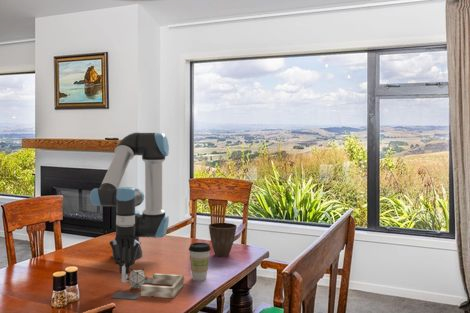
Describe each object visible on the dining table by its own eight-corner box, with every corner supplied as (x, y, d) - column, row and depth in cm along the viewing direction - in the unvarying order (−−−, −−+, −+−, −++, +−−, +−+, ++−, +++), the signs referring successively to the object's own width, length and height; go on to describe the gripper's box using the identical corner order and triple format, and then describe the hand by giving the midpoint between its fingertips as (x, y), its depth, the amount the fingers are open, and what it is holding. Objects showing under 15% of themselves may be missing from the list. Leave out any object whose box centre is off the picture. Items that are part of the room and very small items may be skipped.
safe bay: (141, 295, 165) (141, 285, 165) (153, 282, 180) (153, 273, 180) (173, 298, 163) (173, 288, 163) (183, 284, 178) (183, 275, 178)
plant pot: (216, 249, 235) (216, 221, 234) (240, 253, 229) (241, 224, 228) (203, 256, 221) (203, 226, 221) (228, 260, 215) (229, 229, 214)
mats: (111, 298, 162) (111, 297, 162) (134, 277, 186) (134, 277, 186) (135, 299, 161) (135, 299, 161) (155, 279, 184) (155, 278, 184)
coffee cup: (201, 283, 180) (202, 249, 179) (183, 279, 185) (184, 245, 185) (214, 277, 188) (215, 244, 188) (197, 273, 194) (197, 241, 193)
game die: (138, 299, 171) (139, 285, 165) (121, 288, 173) (121, 274, 167) (151, 283, 177) (152, 269, 171) (135, 273, 180) (135, 259, 173)
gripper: (106, 225, 170) (105, 283, 171) (137, 227, 168) (136, 285, 169) (114, 222, 177) (113, 277, 178) (143, 224, 175) (142, 279, 176)
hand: (124, 281), depth 173 cm, fingers closed
